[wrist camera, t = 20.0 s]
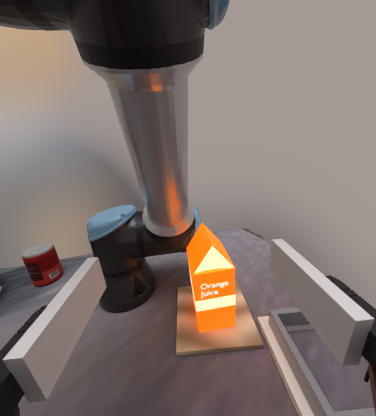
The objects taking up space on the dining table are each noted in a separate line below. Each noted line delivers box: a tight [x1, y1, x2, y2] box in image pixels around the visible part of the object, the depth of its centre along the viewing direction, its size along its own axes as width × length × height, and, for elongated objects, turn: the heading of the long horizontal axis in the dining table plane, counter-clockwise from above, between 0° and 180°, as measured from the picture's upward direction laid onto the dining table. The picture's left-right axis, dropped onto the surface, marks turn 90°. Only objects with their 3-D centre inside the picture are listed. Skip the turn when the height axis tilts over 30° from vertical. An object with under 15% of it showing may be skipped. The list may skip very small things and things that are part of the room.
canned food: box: [21, 242, 63, 287], centre depth 55 cm, size 8×8×11 cm
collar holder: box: [257, 307, 376, 416], centre depth 28 cm, size 18×18×5 cm
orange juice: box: [186, 223, 235, 333], centre depth 36 cm, size 8×9×20 cm
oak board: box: [176, 282, 263, 356], centre depth 40 cm, size 16×16×1 cm
